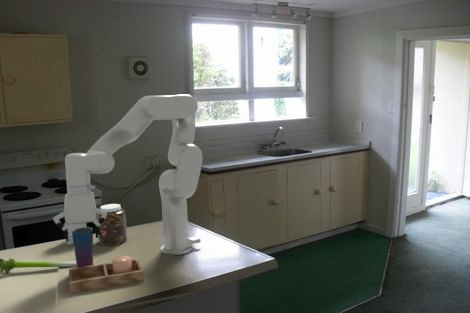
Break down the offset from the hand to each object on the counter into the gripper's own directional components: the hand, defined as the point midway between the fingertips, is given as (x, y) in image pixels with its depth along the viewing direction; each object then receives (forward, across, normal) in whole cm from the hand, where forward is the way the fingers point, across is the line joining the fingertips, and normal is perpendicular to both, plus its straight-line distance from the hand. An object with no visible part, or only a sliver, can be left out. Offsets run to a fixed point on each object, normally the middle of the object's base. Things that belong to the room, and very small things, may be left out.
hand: (82, 238), depth 149 cm
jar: (+12, -12, -30) cm, 35 cm away
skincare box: (+12, +2, -36) cm, 38 cm away
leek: (+13, +15, -9) cm, 22 cm away
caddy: (+12, -6, +11) cm, 18 cm away
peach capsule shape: (+11, -12, +11) cm, 20 cm away
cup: (+12, 0, 0) cm, 12 cm away
